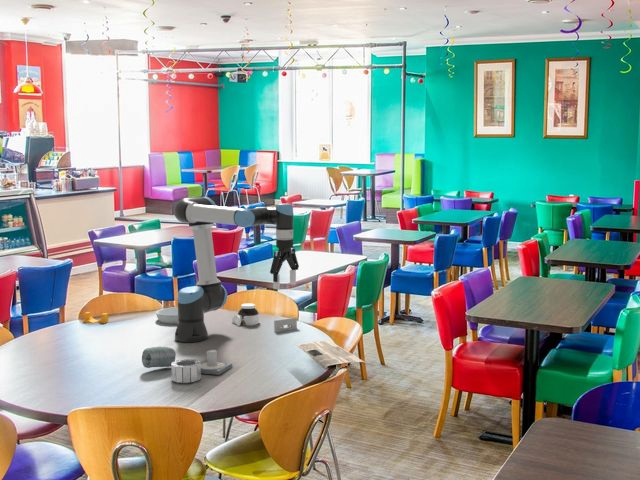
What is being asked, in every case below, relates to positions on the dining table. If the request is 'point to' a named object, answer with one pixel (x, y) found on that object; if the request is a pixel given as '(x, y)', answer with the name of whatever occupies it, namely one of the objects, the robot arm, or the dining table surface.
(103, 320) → the pipe clamp
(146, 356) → the spool
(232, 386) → the dining table surface
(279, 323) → the cassette
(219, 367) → the post block
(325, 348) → the newspaper
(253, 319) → the spread jar
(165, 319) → the serving bowl
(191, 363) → the ring
